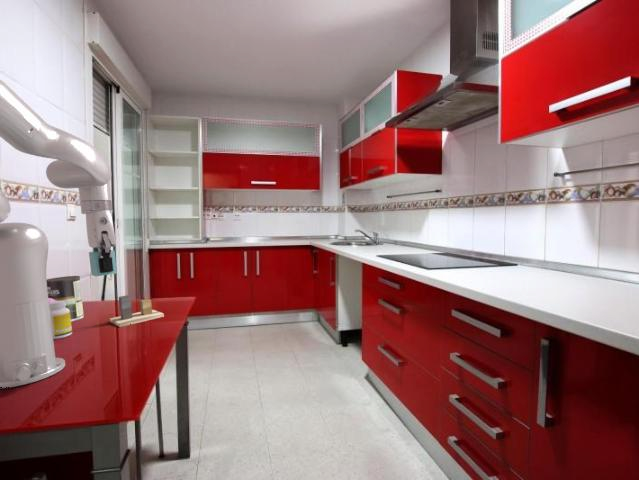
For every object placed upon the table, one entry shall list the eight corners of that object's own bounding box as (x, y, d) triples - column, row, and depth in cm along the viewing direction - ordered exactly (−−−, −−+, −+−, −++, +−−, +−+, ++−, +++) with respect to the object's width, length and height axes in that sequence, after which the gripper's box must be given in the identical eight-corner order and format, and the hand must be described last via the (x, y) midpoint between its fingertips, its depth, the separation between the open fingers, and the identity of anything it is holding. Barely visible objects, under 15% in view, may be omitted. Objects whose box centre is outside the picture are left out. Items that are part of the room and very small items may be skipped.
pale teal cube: (117, 273, 102) (114, 250, 102) (96, 276, 99) (93, 252, 98) (111, 272, 106) (109, 250, 106) (91, 275, 102) (88, 252, 102)
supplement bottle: (77, 332, 104) (73, 299, 103) (61, 339, 98) (57, 304, 98) (59, 333, 104) (56, 300, 104) (43, 339, 99) (39, 305, 98)
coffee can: (62, 324, 114) (57, 281, 113) (39, 324, 117) (34, 281, 116) (91, 315, 124) (87, 275, 123) (69, 315, 127) (64, 275, 126)
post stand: (163, 316, 116) (161, 292, 115) (119, 327, 107) (116, 300, 106) (152, 312, 123) (150, 289, 122) (110, 321, 114) (107, 296, 113)
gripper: (120, 205, 98) (127, 271, 99) (103, 209, 110) (109, 267, 111) (88, 206, 92) (96, 275, 94) (74, 210, 105) (81, 271, 106)
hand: (103, 270), depth 102 cm, fingers closed on pale teal cube, 5 cm apart
